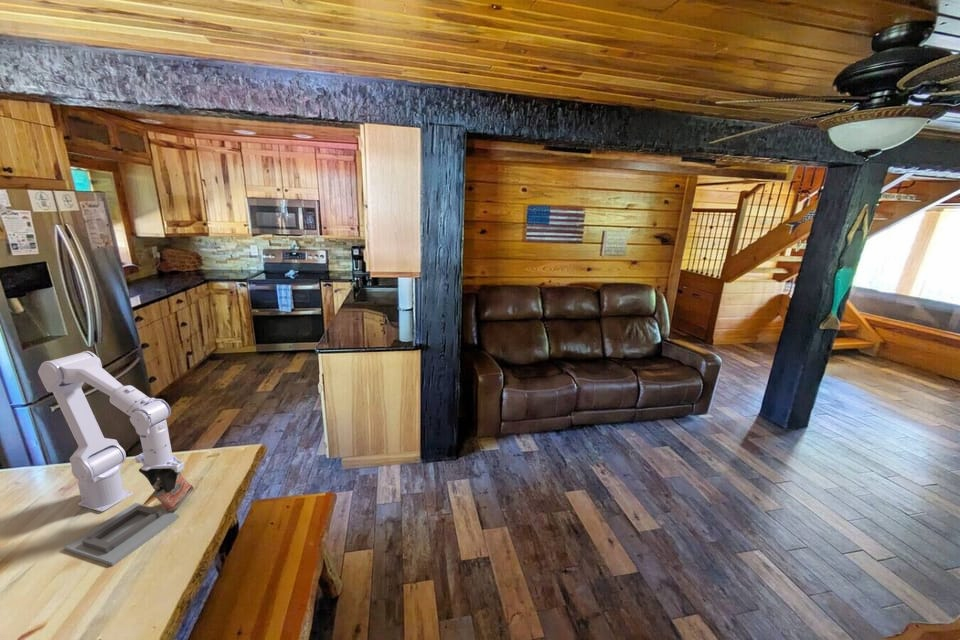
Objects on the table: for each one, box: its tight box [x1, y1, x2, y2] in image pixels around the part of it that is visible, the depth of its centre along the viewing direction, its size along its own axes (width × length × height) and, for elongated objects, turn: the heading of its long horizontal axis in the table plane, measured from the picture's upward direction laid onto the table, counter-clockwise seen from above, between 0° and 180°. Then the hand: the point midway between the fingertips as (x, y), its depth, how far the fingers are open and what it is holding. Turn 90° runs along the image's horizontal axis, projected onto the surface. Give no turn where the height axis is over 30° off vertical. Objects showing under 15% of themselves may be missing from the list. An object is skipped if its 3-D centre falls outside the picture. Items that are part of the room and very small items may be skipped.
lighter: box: [151, 471, 195, 513], centre depth 107 cm, size 8×3×10 cm, turn 173°
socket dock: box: [63, 502, 180, 567], centre depth 99 cm, size 16×16×2 cm
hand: (164, 488), depth 105 cm, fingers closed on lighter, 4 cm apart
